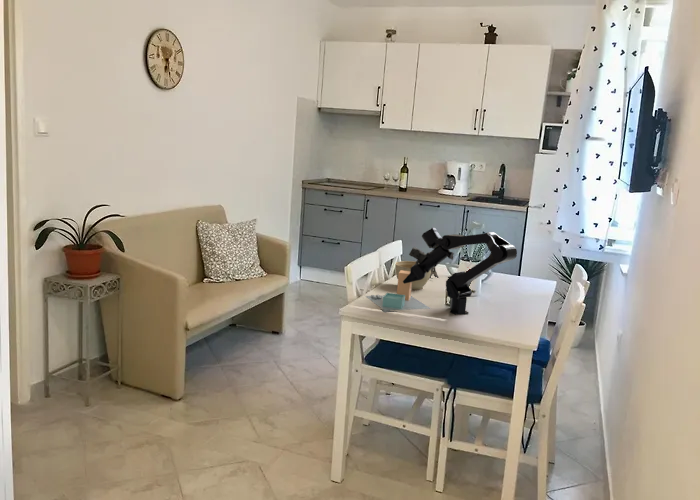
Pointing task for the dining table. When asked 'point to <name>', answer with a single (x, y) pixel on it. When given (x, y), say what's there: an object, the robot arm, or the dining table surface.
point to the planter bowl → (407, 266)
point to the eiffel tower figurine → (433, 272)
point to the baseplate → (406, 307)
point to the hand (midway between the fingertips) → (405, 280)
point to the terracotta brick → (404, 285)
